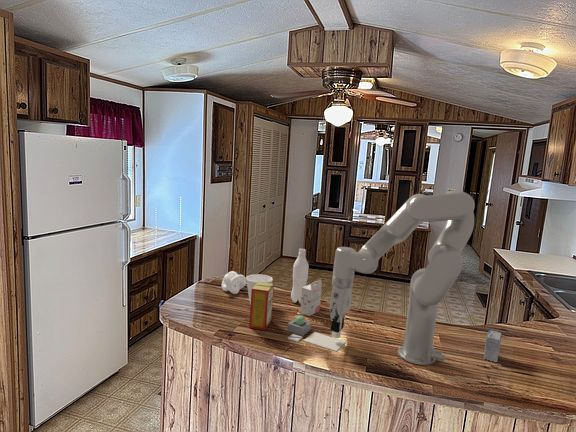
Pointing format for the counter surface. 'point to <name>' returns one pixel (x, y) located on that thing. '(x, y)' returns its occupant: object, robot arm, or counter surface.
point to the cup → (254, 279)
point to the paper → (324, 341)
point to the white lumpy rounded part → (233, 282)
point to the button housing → (299, 327)
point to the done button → (300, 320)
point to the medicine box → (492, 346)
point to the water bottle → (299, 275)
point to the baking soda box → (261, 305)
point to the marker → (337, 335)
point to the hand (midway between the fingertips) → (336, 329)
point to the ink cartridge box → (311, 298)
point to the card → (295, 337)
